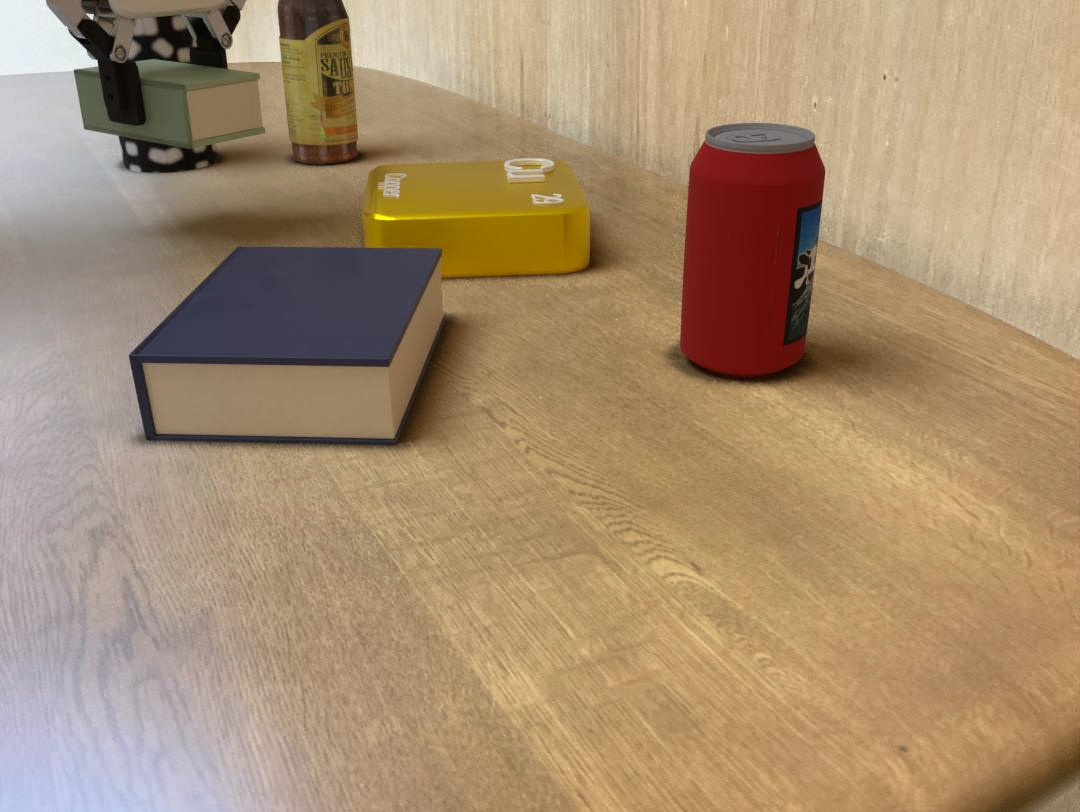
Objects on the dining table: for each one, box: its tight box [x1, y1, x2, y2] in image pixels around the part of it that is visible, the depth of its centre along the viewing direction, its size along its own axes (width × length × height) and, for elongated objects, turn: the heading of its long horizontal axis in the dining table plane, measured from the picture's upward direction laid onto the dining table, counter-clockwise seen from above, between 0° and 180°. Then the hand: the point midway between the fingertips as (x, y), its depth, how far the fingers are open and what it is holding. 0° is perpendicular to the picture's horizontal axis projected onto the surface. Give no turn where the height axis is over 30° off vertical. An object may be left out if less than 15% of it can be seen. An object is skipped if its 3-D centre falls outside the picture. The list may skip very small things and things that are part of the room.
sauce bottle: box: [276, 0, 359, 166], centre depth 100 cm, size 7×6×20 cm
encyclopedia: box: [128, 245, 447, 446], centre depth 60 cm, size 12×17×4 cm
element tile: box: [361, 157, 591, 279], centre depth 80 cm, size 15×15×5 cm
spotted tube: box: [111, 15, 219, 174], centre depth 100 cm, size 8×8×20 cm
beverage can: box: [679, 122, 826, 378], centre depth 59 cm, size 7×7×12 cm
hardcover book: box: [73, 59, 266, 149], centre depth 80 cm, size 11×7×4 cm, turn 56°
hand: (172, 113), depth 81 cm, fingers closed on hardcover book, 7 cm apart
